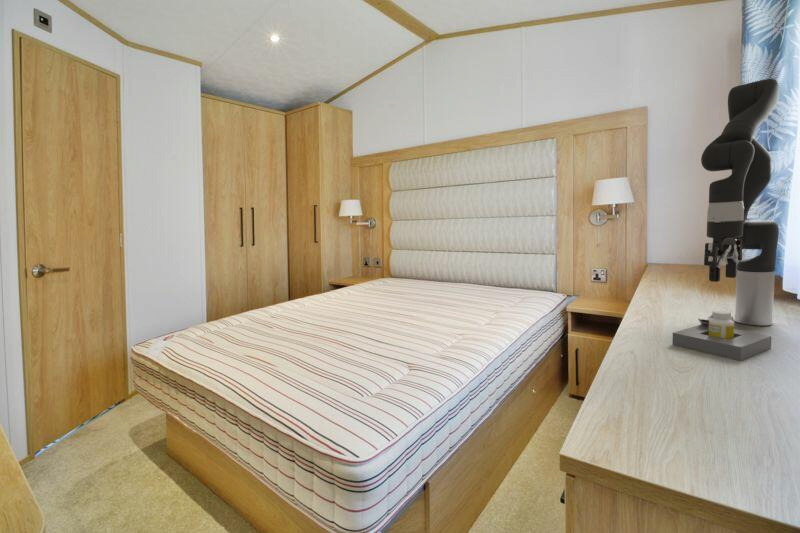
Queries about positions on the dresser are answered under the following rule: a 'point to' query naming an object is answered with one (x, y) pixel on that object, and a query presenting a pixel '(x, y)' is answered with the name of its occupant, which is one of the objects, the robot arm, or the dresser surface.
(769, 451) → the dresser surface
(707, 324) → the mobile phone
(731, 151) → the robot arm
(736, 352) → the socket block
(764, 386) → the dresser surface
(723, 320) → the supplement bottle
